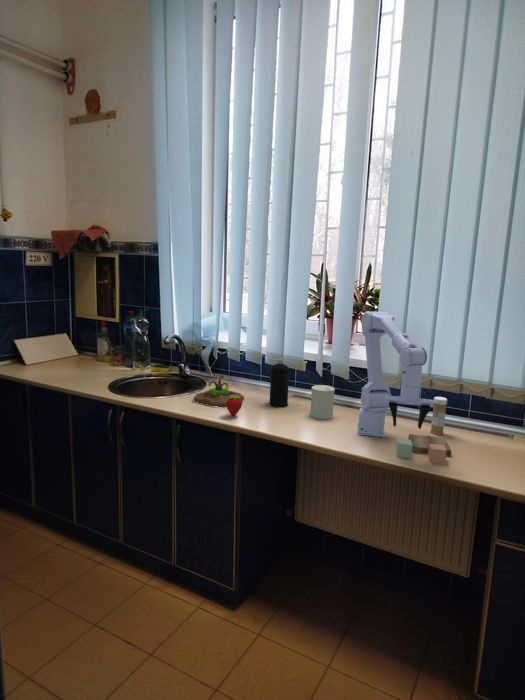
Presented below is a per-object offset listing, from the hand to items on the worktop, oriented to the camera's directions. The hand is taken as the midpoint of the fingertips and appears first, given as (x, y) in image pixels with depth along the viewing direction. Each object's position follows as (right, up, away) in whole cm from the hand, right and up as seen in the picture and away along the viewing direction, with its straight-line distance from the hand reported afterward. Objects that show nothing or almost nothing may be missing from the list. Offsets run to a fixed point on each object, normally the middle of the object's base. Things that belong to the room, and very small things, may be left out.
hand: (406, 426), depth 152 cm
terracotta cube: (+9, -11, -2) cm, 14 cm away
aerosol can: (-39, +1, +51) cm, 64 cm away
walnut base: (+10, -9, +9) cm, 16 cm away
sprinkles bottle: (+18, -6, +23) cm, 30 cm away
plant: (-65, +2, +54) cm, 84 cm away
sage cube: (-1, -10, +2) cm, 10 cm away
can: (-23, -2, +38) cm, 44 cm away
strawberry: (-57, -2, +33) cm, 66 cm away
